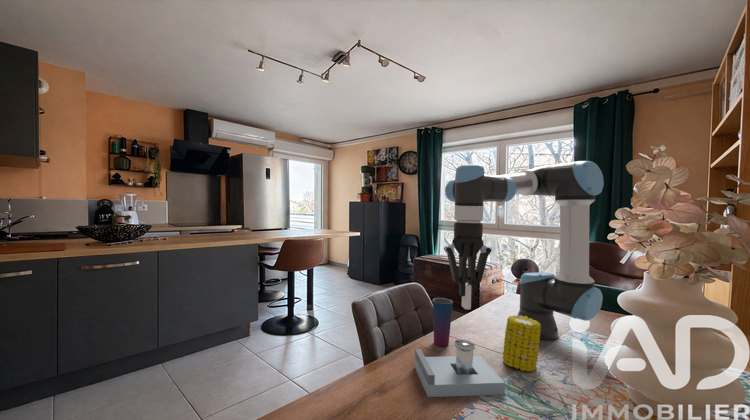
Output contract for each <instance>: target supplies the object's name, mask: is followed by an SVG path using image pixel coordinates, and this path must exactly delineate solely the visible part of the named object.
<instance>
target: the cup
mask: <svg viewBox="0 0 750 420" xmlns="http://www.w3.org/2000/svg"><path fill="white" fill-rule="evenodd" d="M452 313H453V300H452V299H448V298H445V297H434V298H433V299H432V319H433V320H432V321H433V323H432V325H433V326H432V327H433V344H434V345H435V346H436V347H440V348H447V347H448V346H449V343H450V336H451V335H450V334H451V324H452Z"/></svg>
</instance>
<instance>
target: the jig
mask: <svg viewBox="0 0 750 420" xmlns="http://www.w3.org/2000/svg"><path fill="white" fill-rule="evenodd" d="M414 369H415V371H416V374H417V376H418V378H419V381H420V382H421V385H422V387H423V389H424V391H425V393H426V396H427V398H438V397H439V398H441V397H469V396H471V397H472V396H473V397H476V396H477V397H478V396H502V395H506V393H505V392H506V381H504V380H503V379H502V378H501V377H500V375H499V374H498V373H497V372H496V371H495V370H494V369H493V368H492V367H491V366H490V365H489V363H488V362H487V361H485V359H484V358H483V357H482V356H481V355H473V364H472V375H457V373H456V372H455V371H456V355H454V356H452V355H451V356H445V355H444V356H425V355H424V352H423V350H422V349H421V348H414Z"/></svg>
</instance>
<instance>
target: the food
mask: <svg viewBox="0 0 750 420" xmlns="http://www.w3.org/2000/svg"><path fill="white" fill-rule="evenodd" d="M505 325H506V327H505V331H504V333H505V334H504V339H503V340H504V341H503V344H504V345H503V351H502V362H503V363H504V364H505V365H506V366H509V367H512V368H515V369H519V370H520V371H522V372H527V373H528V372H533V371H535V370H536V369H537V365H538V364H537V363H538V359H539V358H538V355H539V351H540V349H539V348H540V340H541V339H540V331H541V329H540V328H541V324H540V323H539V322H537V321H536V320H533V319H532V318H528V317H527V316H524V317H523V316H522V315H520V316H517V315H509V316H508V317H507V320H506V324H505Z"/></svg>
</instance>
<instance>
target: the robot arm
mask: <svg viewBox="0 0 750 420" xmlns="http://www.w3.org/2000/svg"><path fill="white" fill-rule="evenodd" d="M454 178H455V179H454V180H453V179H452V180H450V181H448V182H447V183H446V186H445V187H444V188H445V189H444V191H445V192H444V193H445V197H446V198H447V200H449V201H450V202H453V203H454V215H453V217H454V221H456V222H454V224H453V239H452V241H451V244H449V245H448V246H447V245H445V246H444V248H443V250H444V251H445V253H446V255H447V259H448V265H449V269H450V274H451V278H452V279H451V280H453V281H454V282H456V283H458V294H459V296H461V307H462V308H463V309H464V310H471V309H472V297H474V296H475V287H476V286H477V283H482V280H483V277H484V274H485V273H484V272H485V269H486V265H487V261H488V258H489V256H490V255H491V253H492V248H491V247H488V246H487V245H485V244H484V243H485V242H484V239H483V229H484V228H483V227H484V225H483V223H482V222H483V220H484V202H486V203H487V202H488V203H489V202H490V203H491V202H495V203H503V202H504V203H505V202H510V201H511V200H513V198H514V197H515V195H522V196H525V197H526V196H545V197H554V201H555V202H556V203H557V204H558V206H559V272H558V273H557V274H554V273H551V272H550V273H549V272H524V273H522V275H521V276H520V283H519V286H520V288H519V290H520V291H519V310H518V313H517V315H516V316H520V315H522V316H523V317H524V316H527V317H528V318H532V319H533V320H536V321H537V322H539V323H540V324H541V328H540V329H541V331H540V339H539V340H544V341H545V340H546V341H552V340H557V339H558V337H559V330H558V326H557V323H556V319H555V315H554V312H555V313H559V314H562V315H565V316H566V317H567V316H568V317H570V318H573V319H576V320H581V321H584V322H585V321H586V322H587V321H591V320H593V319H594V318H596V317H597V315H598V314H599V312H600V310H601V308H602V305H603V299H604V297H603V293H602V291H601V289H600V288H599V287H595V280H594V278H592V277H591V276H590V205H591V204H592V203H594V202H595V201H596V196H597V195H599V194H601V193H602V191H603V188H604V182H605V181H604V175H603V172H602V170H601V169H600V167H599V166H598V164H596V163H595V162H593V161H591V160H578V161H575V160H574V161H569V162H564V163H563V162H562V163H555V164H554V163H553V164H547V165H542V166H539V167H534V168H530V169H524V170H521V171H519V172H518V173H510V174H500V175H493V174H486V172H485V168H484V166H483V165H481V164H463V165H459V166H457V168H456V170H455V176H454ZM455 250H456V252H457V254H458V264H457V260H456V259H457V258H456V256H455V255H456V254H455ZM479 252H480V253H479ZM478 253H479V255H478ZM477 255H478V256H479V257H478V256H477ZM477 257H478V259H477Z"/></svg>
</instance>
